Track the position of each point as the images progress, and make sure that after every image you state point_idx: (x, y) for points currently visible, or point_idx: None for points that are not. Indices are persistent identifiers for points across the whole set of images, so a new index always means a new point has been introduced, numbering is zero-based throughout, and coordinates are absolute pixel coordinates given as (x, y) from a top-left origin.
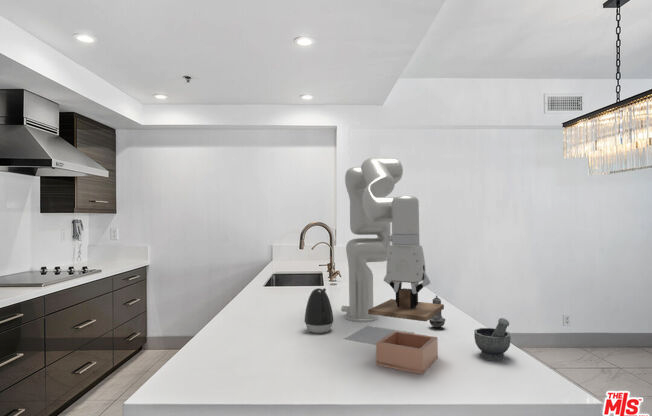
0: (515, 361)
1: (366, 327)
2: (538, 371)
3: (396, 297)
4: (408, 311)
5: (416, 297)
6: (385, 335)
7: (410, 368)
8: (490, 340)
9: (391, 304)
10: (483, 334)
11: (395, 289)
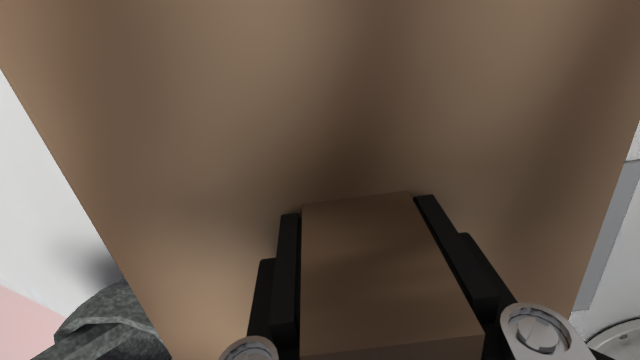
0: (93, 293)
1: (587, 296)
2: (7, 265)
3: (481, 265)
4: (256, 103)
5: (254, 321)
6: None
7: None
8: (92, 307)
9: (509, 242)
10: None
11: (551, 339)
